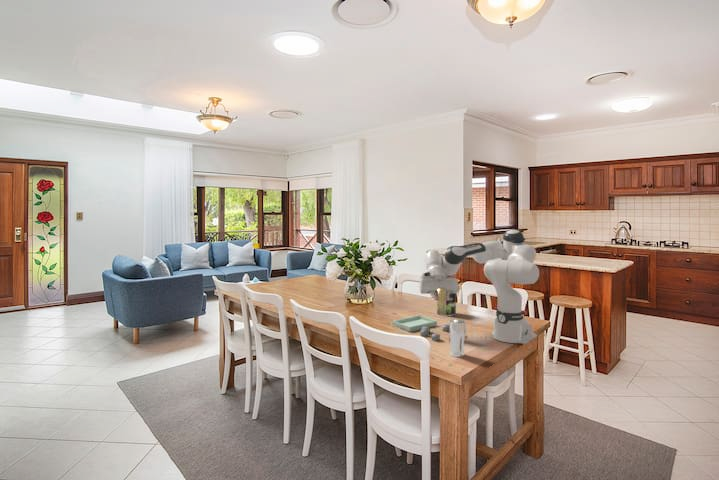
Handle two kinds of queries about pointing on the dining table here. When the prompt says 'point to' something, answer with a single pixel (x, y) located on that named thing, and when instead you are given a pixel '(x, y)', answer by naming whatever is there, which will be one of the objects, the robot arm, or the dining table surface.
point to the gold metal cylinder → (441, 301)
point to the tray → (414, 323)
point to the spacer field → (435, 336)
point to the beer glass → (457, 337)
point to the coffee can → (451, 305)
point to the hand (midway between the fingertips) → (441, 299)
